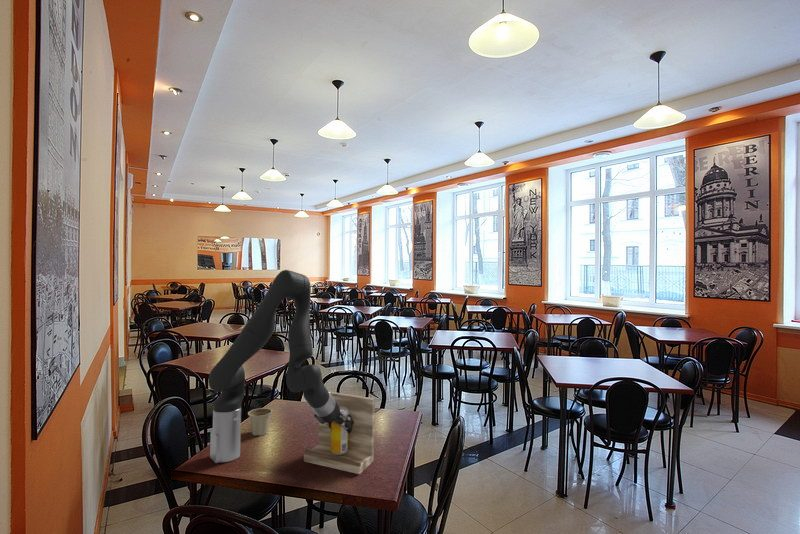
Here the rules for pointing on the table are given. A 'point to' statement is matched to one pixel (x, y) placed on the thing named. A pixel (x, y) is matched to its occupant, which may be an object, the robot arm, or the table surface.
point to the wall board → (358, 439)
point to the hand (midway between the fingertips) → (342, 429)
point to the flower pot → (260, 420)
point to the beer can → (339, 436)
